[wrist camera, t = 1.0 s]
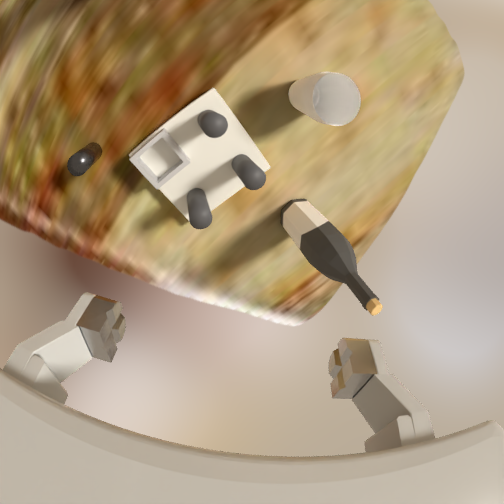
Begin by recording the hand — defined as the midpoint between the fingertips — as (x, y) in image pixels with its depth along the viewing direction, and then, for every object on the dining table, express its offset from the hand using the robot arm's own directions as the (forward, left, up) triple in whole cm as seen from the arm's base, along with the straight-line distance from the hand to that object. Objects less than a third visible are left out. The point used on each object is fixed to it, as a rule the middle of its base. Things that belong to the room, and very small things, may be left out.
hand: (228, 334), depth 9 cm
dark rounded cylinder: (+4, -17, -43) cm, 46 cm away
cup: (-11, +20, -43) cm, 49 cm away
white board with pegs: (+4, +3, -43) cm, 43 cm away
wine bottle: (+14, +25, -43) cm, 52 cm away
